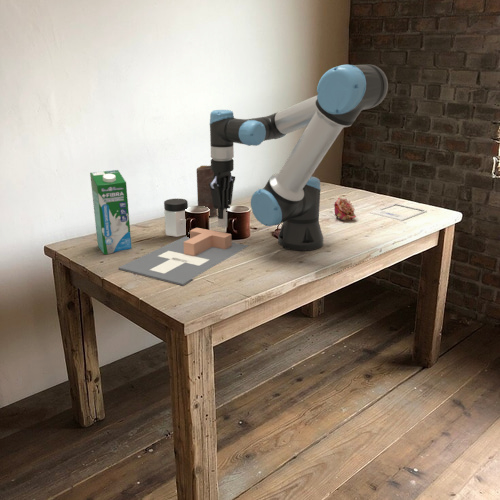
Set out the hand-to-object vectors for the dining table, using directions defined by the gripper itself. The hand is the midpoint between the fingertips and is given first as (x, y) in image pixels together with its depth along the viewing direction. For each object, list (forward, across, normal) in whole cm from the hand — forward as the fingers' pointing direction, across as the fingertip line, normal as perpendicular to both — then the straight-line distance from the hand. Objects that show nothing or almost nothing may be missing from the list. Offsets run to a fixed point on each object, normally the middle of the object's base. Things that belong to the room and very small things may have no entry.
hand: (222, 226), depth 186 cm
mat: (+4, +21, 0) cm, 22 cm away
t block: (+4, +13, 0) cm, 14 cm away
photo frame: (+5, -62, +43) cm, 76 cm away
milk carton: (+5, +26, -26) cm, 37 cm away
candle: (+5, -19, -20) cm, 28 cm away
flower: (+4, -42, +28) cm, 51 cm away
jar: (+5, +4, -17) cm, 18 cm away
